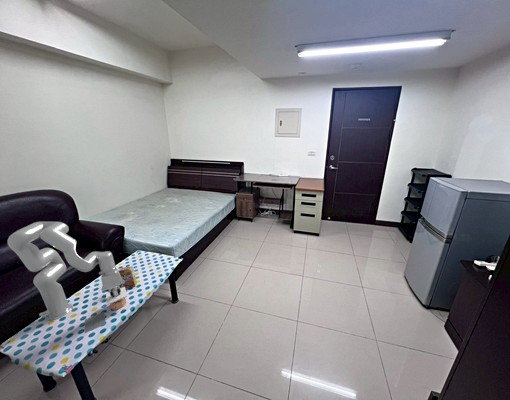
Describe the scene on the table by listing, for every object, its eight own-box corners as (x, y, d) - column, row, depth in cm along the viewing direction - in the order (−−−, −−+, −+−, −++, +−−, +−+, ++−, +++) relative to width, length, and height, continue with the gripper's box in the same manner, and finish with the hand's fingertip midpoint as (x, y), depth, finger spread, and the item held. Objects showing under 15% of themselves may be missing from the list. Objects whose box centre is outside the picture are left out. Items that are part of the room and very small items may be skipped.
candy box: (122, 288, 159) (117, 270, 154) (125, 284, 163) (120, 267, 158) (135, 286, 160) (130, 269, 155) (137, 283, 164) (133, 265, 159)
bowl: (111, 312, 138) (110, 306, 136) (110, 304, 144) (108, 298, 143) (127, 305, 143) (125, 299, 141) (125, 298, 149) (123, 292, 148)
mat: (85, 334, 123) (84, 333, 123) (85, 320, 133) (85, 319, 133) (105, 324, 129) (105, 323, 129) (104, 312, 138) (104, 311, 138)
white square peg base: (107, 305, 134) (104, 297, 132) (106, 295, 142) (103, 287, 141) (127, 296, 140) (125, 289, 138) (124, 287, 148) (123, 280, 147)
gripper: (93, 279, 128) (101, 304, 133) (124, 268, 137) (131, 292, 143) (93, 273, 134) (100, 297, 139) (123, 263, 143) (129, 286, 148)
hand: (116, 294), depth 141 cm, fingers closed on white square peg base, 3 cm apart
